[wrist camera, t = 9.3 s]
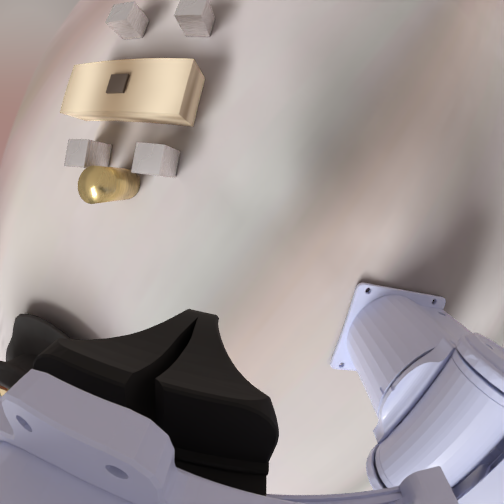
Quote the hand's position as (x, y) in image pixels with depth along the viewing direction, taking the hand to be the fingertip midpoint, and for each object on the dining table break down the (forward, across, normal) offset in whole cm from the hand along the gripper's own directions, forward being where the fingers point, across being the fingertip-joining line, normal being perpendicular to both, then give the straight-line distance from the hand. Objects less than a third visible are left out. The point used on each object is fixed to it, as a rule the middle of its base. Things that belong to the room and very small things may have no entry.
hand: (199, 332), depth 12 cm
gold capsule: (+10, +9, -5) cm, 14 cm away
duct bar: (+10, +9, -12) cm, 18 cm away
